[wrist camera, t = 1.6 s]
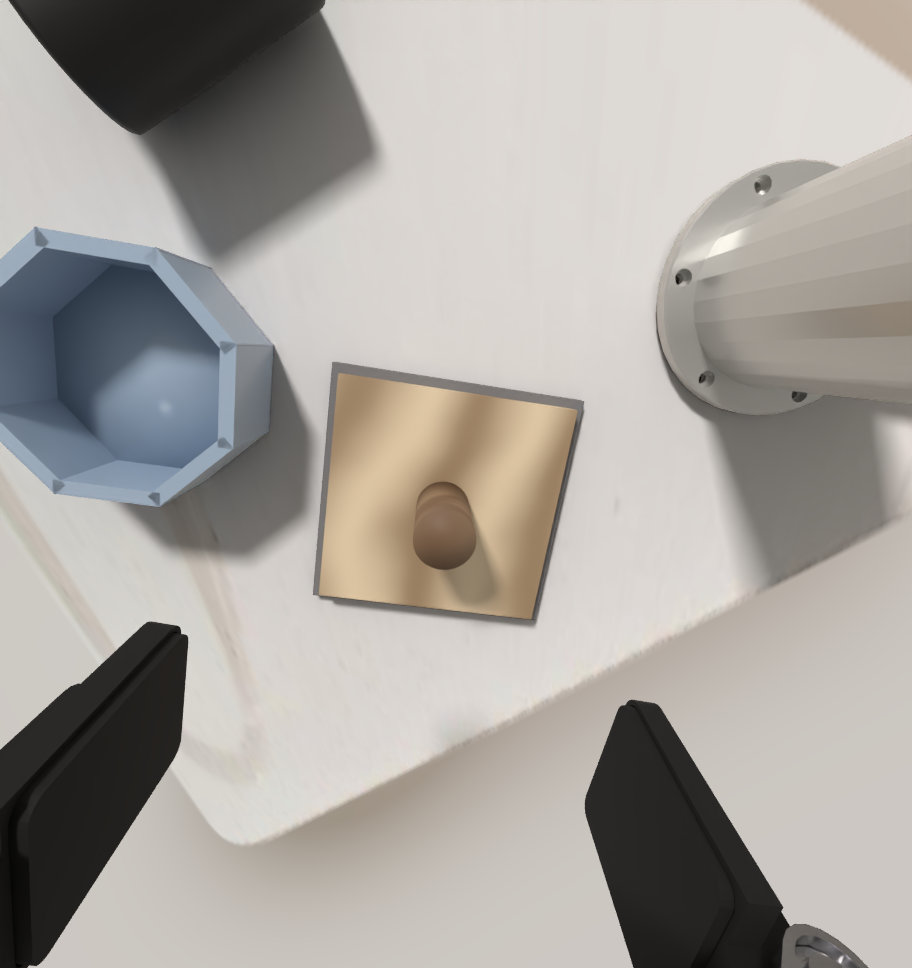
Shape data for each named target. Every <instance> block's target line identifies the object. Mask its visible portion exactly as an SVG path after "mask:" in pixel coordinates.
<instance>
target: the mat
mask: <svg viewBox="0 0 912 968" xmlns="http://www.w3.org/2000/svg"><path fill="white" fill-rule="evenodd" d="M339 373H344V374H350V375H357V376H363V377H370V378H376V379H383V380H389V381H396V382H402V383H408V384H415V385H421V386H428V387H434V388H441V389H447V390H454V391H460V392H467V393H473V394H479V395H486V396H492V397H499V398H505V399H512V400H518V401H525V402H531V403H537V404H544V405H550V406H557V407H563V408H570V409H575V410H577V411H578V412H577V417H576V421H575V426H574V430H573V434H572V439H571V443H570V448H569V452H568V457H567V461H566V466H565V470H564V475H563V479H562V484H561V488H560V493H559V497H558V502H557V506H556V511H555V515H554V520H553V524H552V529H551V533H550V538H549V542H548V546H547V551H546V555H545V560H544V564H543V569H542V573H541V578H540V582H539V587H538V591H537V596H536V600H535V605H534V609H533V614H532V618H531V619H528V620H535V617H536V613H537V608H538V604H539V600H540V595H541V591H542V586H543V582H544V577H545V573H546V569H547V564H548V560H549V555H550V551H551V546H552V542H553V538H554V533H555V529H556V524H557V520H558V515H559V511H560V506H561V502H562V498H563V493H564V489H565V484H566V480H567V475H568V471H569V467H570V462H571V458H572V453H573V449H574V444H575V440H576V436H577V431H578V427H579V422H580V418H581V413H582V409H583V405H584V401H581V400H575V399H568V398H562V397H556V396H549V395H543V394H536V393H530V392H524V391H517V390H511V389H505V388H498V387H492V386H485V385H479V384H473V383H466V382H460V381H454V380H447V379H441V378H434V377H428V376H422V375H415V374H409V373H403V372H396V371H390V370H383V369H377V368H371V367H364V366H358V365H352V364H345V363H339V362H332V373H331V385H330V397H329V409H328V421H327V433H326V445H325V457H324V469H323V481H322V492H321V504H320V516H319V528H318V540H317V552H316V564H315V576H314V588H313V595H318V596H323V595H319V586H320V575H321V564H322V552H323V541H324V529H325V518H326V506H327V495H328V483H329V472H330V461H331V449H332V438H333V426H334V415H335V403H336V392H337V381H338V374H339ZM327 597H331V596H327ZM336 598H340V597H336ZM345 599H349V598H345ZM353 600H358V599H353ZM362 601H366V600H362ZM371 602H375V601H371ZM379 603H384V602H379ZM388 604H392V603H388ZM397 605H401V604H397ZM406 606H410V605H406ZM414 607H419V606H414ZM423 608H427V607H423ZM432 609H436V608H432ZM440 610H445V609H440ZM449 611H453V610H449ZM458 612H462V611H458ZM467 613H471V612H467ZM475 614H480V613H475ZM484 615H488V614H484ZM493 616H497V615H493ZM502 617H506V616H502ZM510 618H514V617H510ZM519 619H523V618H519Z"/></svg>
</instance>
